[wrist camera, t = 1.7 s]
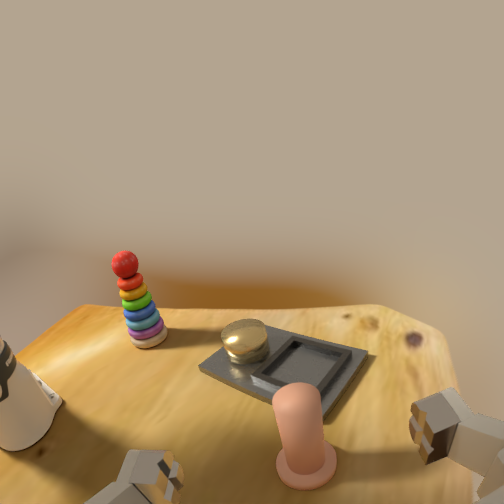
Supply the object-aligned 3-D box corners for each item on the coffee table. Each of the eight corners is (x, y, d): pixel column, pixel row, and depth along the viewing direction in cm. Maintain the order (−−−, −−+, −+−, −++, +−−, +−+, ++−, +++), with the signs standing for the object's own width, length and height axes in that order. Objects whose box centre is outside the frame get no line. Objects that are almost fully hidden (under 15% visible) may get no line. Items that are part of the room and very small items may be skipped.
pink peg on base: (266, 475, 27) (242, 409, 23) (299, 437, 32) (286, 365, 28) (315, 499, 23) (307, 439, 19) (347, 455, 28) (348, 384, 24)
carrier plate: (200, 371, 47) (191, 346, 46) (255, 327, 57) (250, 304, 55) (320, 424, 33) (318, 398, 31) (367, 356, 42) (368, 330, 41)
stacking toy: (138, 355, 54) (101, 264, 48) (129, 338, 61) (97, 255, 54) (174, 339, 58) (143, 248, 52) (161, 323, 64) (133, 241, 58)
